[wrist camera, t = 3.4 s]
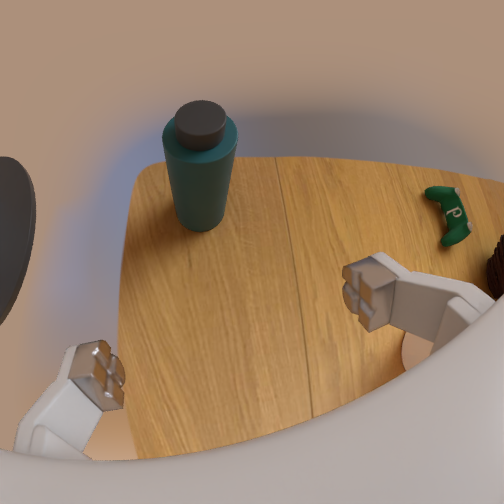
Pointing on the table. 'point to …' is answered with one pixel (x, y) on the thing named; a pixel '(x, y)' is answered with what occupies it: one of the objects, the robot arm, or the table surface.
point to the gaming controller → (451, 213)
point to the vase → (496, 270)
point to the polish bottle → (200, 162)
